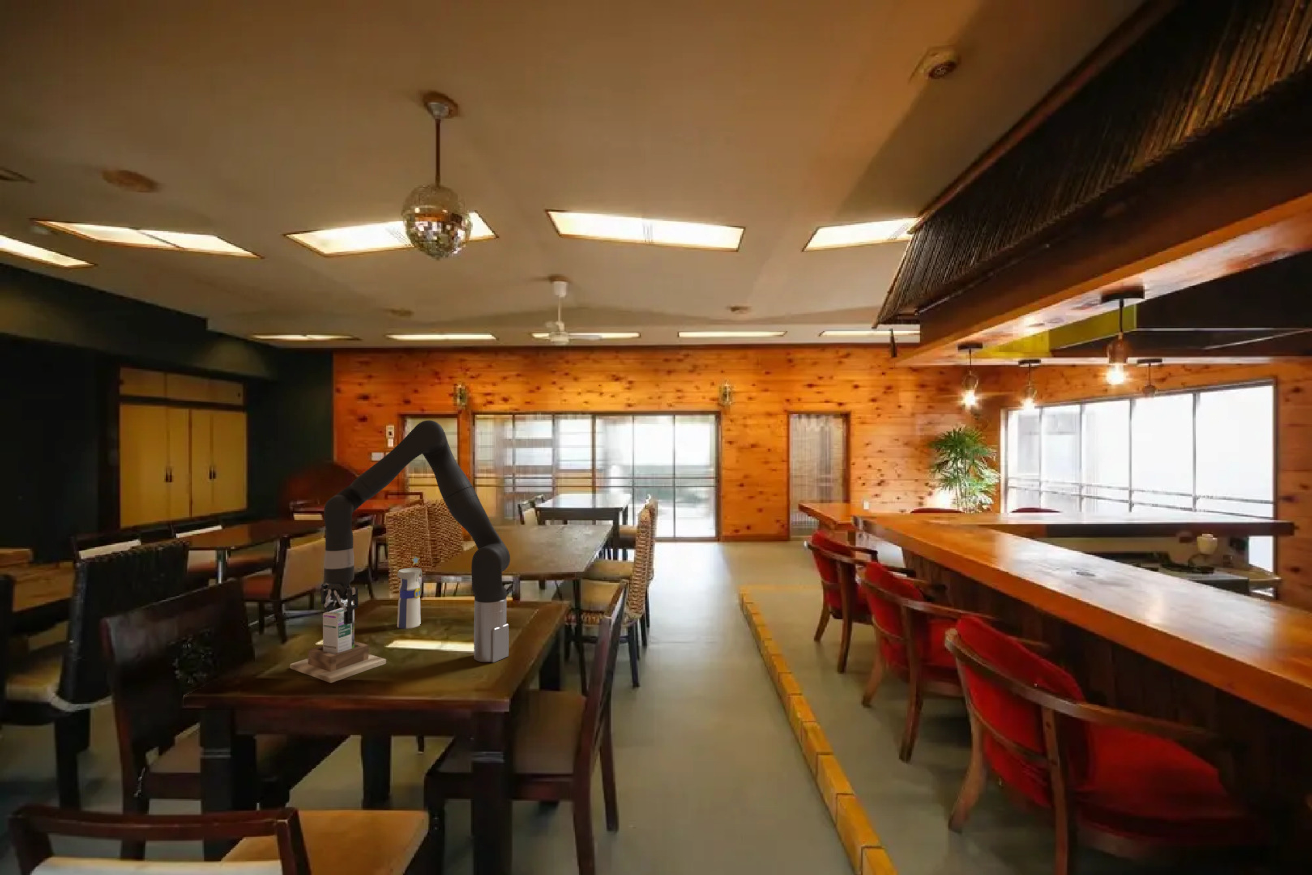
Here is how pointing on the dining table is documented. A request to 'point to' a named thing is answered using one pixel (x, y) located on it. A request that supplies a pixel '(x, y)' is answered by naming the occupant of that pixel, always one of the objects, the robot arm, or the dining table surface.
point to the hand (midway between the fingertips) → (339, 621)
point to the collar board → (337, 663)
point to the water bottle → (409, 597)
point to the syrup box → (337, 632)
